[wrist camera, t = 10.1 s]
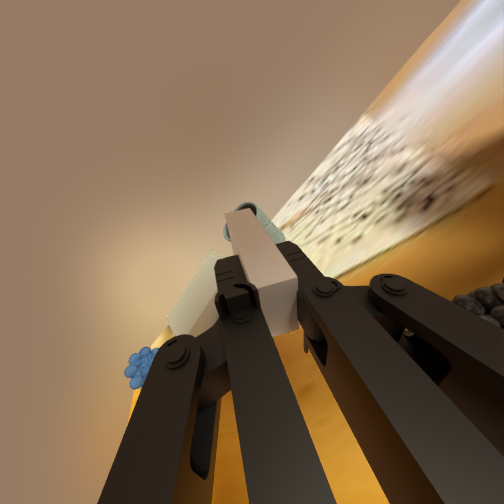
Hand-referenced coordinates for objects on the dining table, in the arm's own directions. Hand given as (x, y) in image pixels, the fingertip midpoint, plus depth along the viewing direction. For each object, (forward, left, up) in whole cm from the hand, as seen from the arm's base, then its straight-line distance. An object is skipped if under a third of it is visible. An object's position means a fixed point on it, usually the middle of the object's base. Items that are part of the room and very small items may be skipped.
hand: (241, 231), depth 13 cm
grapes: (+36, -34, -29) cm, 57 cm away
